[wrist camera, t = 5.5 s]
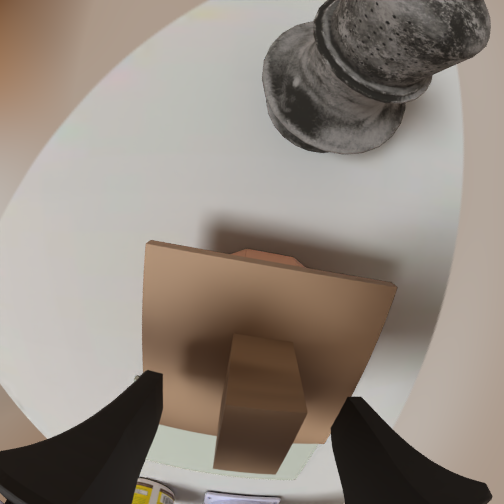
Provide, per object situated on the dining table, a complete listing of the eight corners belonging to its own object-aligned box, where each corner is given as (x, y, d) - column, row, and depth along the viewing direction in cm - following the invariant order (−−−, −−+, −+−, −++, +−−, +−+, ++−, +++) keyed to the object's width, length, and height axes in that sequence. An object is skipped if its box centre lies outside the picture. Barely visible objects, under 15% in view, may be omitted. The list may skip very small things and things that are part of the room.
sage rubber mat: (294, 476, 20) (294, 480, 20) (145, 456, 20) (144, 459, 19) (337, 404, 17) (338, 408, 17) (136, 375, 17) (134, 379, 16)
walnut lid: (322, 436, 14) (336, 498, 9) (149, 413, 13) (126, 476, 9) (391, 282, 11) (450, 336, 7) (150, 240, 11) (91, 282, 6)
